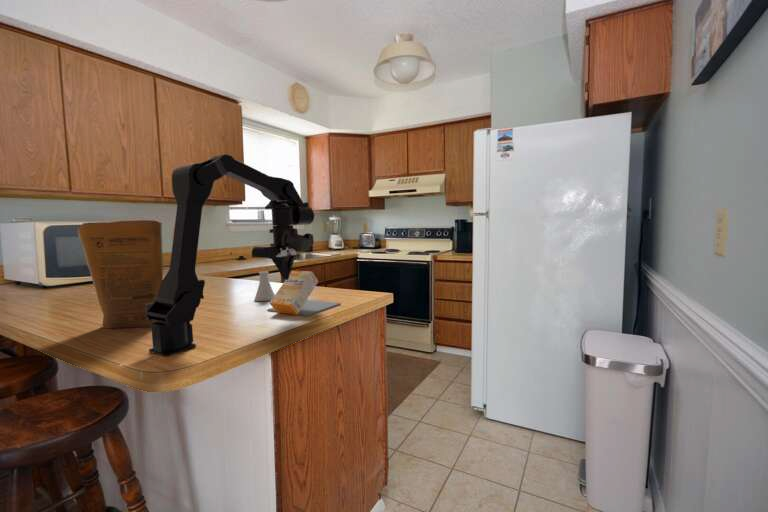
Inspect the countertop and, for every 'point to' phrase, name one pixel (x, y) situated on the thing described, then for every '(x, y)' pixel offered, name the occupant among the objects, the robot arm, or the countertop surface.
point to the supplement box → (294, 292)
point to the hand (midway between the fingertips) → (286, 279)
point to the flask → (264, 288)
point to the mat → (313, 307)
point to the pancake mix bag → (124, 268)
